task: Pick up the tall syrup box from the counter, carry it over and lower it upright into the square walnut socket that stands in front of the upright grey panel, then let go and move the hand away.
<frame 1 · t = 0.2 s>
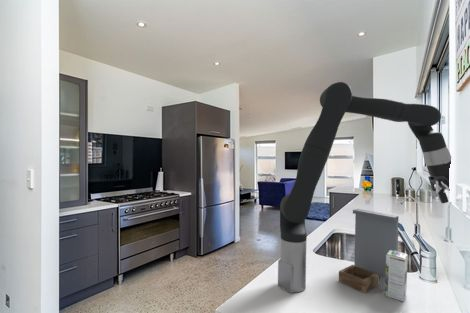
hand: (453, 204, 91), 31 cm above the countertop, tool tilted 20°, fingers open, 8 cm apart
socket: (358, 283, 97), on the countertop
syrup box: (395, 296, 89), on the countertop
upright grey panel: (373, 243, 104), on the countertop
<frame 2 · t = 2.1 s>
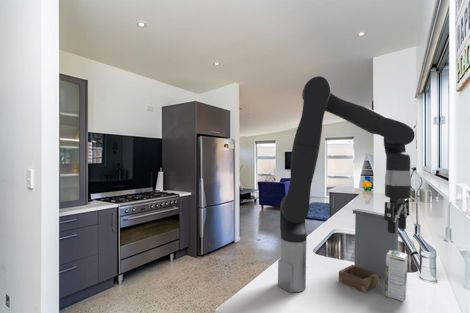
hand: (396, 230, 89), 22 cm above the countertop, tool pointing down, fingers open, 8 cm apart
nothing on the countertop moved.
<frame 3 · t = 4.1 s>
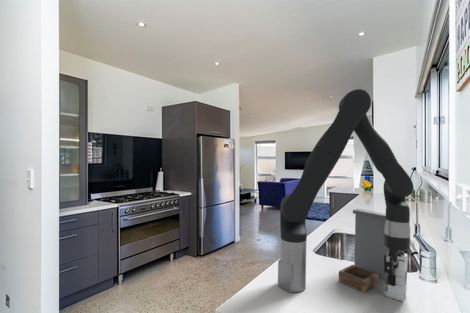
hand: (395, 282, 89), 5 cm above the countertop, tool pointing down, fingers closed on syrup box, 6 cm apart
syrup box: (395, 296, 89), on the countertop, touching gripper
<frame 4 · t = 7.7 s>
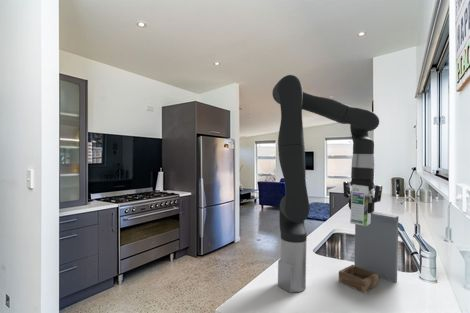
hand: (360, 211, 97), 27 cm above the countertop, tool pointing down, fingers closed on syrup box, 6 cm apart
syrup box: (360, 224, 97), point 22 cm above the countertop, touching gripper
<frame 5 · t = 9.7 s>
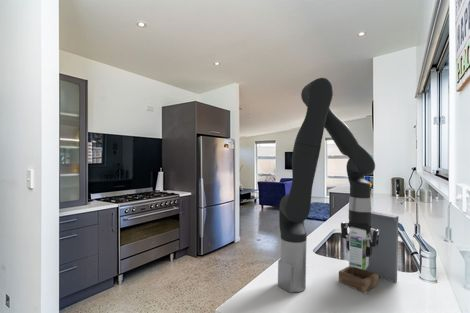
hand: (359, 253, 97), 11 cm above the countertop, tool pointing down, fingers closed on syrup box, 6 cm apart
syrup box: (358, 266, 97), point 6 cm above the countertop, touching gripper
when the fingers open (6 cm above the countertop, at t = 11.5 s): syrup box drops 1 cm, resting in socket.
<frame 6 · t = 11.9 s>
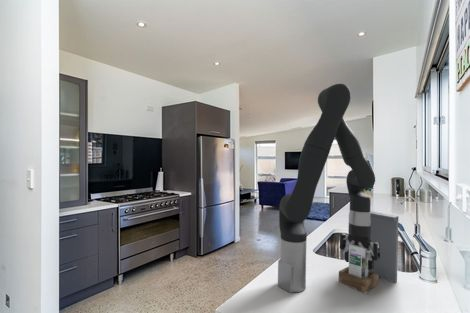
hand: (358, 265, 97), 7 cm above the countertop, tool pointing down, fingers open, 8 cm apart
syrup box: (358, 283, 97), resting in socket
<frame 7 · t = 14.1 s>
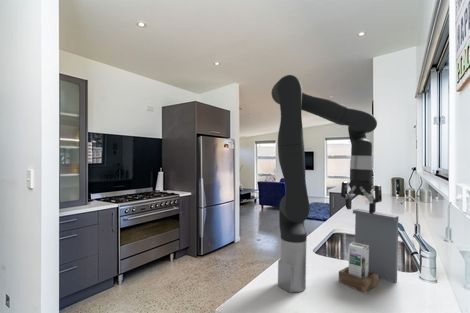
hand: (359, 211, 97), 27 cm above the countertop, tool pointing down, fingers open, 8 cm apart
nothing on the countertop moved.
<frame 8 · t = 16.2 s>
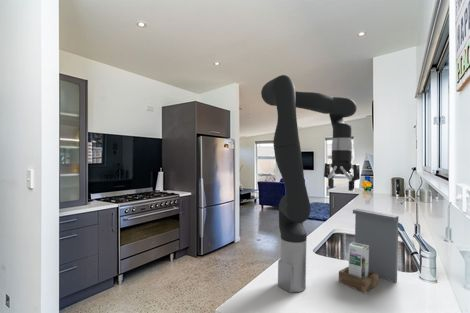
hand: (340, 189, 105), 34 cm above the countertop, tool pointing down, fingers open, 8 cm apart
nothing on the countertop moved.
at the end: syrup box 0.1 cm off-centre on the socket, point 0.0 cm above the socket's base; syrup box tilted 0°; the gripper is holding nothing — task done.
